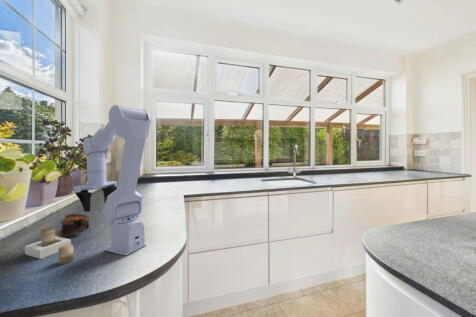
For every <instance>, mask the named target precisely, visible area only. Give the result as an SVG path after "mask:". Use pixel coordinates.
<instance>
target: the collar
mask: <svg viewBox="0 0 476 317" xmlns="http://www.w3.org/2000/svg"><path fill="white" fill-rule="evenodd" d="M65 245H72V239H70V238H66V237H63V236H62V237H59V236H57V235H55V243H54V244H52V245H49V246H46V247H42V243H41V240H40V241H37V242H33V243H30V244H27V245H25V246H24V254H25V256H26V255H27V256H30V257H33V258H36V259H39V260H40V259H45V258H47V257H50V256H52V255H55V254H59V251H58V249H59V248H60V247H62V246H65Z"/></svg>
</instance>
